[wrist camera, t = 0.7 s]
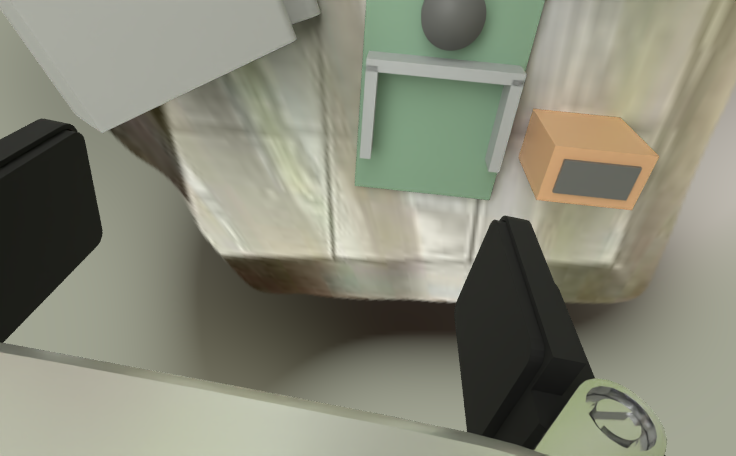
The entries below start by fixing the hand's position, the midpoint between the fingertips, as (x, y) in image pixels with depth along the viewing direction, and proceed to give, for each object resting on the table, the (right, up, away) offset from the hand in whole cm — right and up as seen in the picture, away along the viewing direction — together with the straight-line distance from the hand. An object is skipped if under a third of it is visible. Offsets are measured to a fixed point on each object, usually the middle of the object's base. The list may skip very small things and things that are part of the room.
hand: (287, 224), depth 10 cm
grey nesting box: (-12, +20, +27) cm, 36 cm away
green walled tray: (+8, +12, +30) cm, 34 cm away
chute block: (+21, +9, +32) cm, 39 cm away
